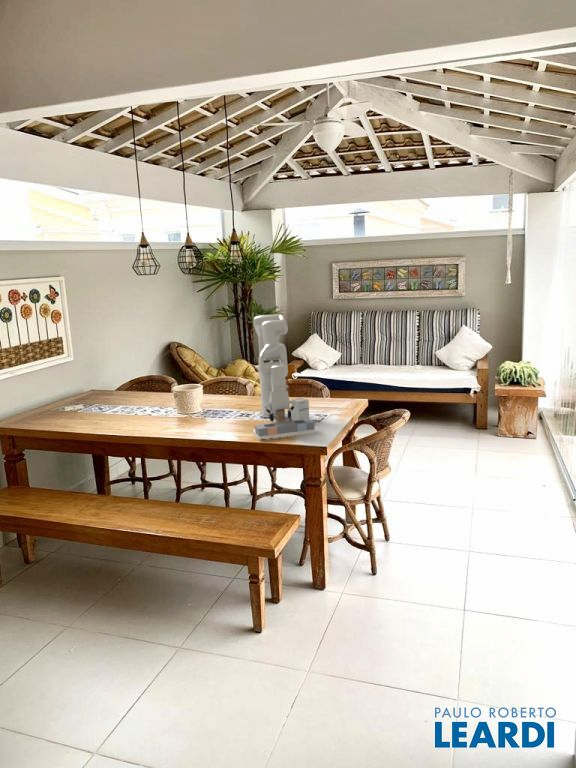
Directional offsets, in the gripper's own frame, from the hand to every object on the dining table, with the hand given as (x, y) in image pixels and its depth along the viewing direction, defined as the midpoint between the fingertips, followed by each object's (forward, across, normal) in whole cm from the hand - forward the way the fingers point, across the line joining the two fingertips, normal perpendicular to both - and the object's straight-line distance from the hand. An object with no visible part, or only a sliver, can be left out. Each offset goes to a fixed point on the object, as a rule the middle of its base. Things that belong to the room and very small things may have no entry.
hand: (280, 419), depth 318 cm
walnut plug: (+4, 0, 0) cm, 4 cm away
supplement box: (+6, -16, -16) cm, 23 cm away
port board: (+6, 0, +4) cm, 8 cm away
